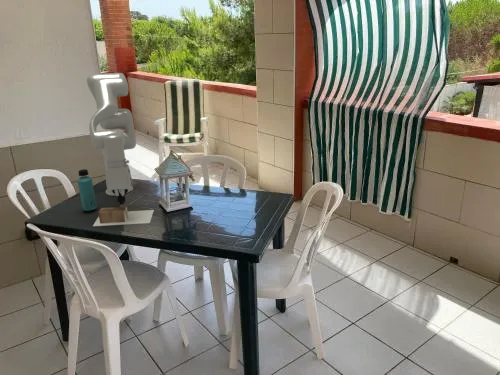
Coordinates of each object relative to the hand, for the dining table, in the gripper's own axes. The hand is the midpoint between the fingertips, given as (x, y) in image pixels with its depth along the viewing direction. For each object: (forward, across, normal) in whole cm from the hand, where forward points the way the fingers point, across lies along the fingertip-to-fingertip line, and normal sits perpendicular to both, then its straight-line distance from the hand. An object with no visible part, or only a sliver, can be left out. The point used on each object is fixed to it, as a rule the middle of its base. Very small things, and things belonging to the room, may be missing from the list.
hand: (122, 203), depth 175 cm
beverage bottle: (+8, +18, -13) cm, 24 cm away
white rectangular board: (+8, 0, -2) cm, 8 cm away
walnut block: (+5, -1, 0) cm, 5 cm away
